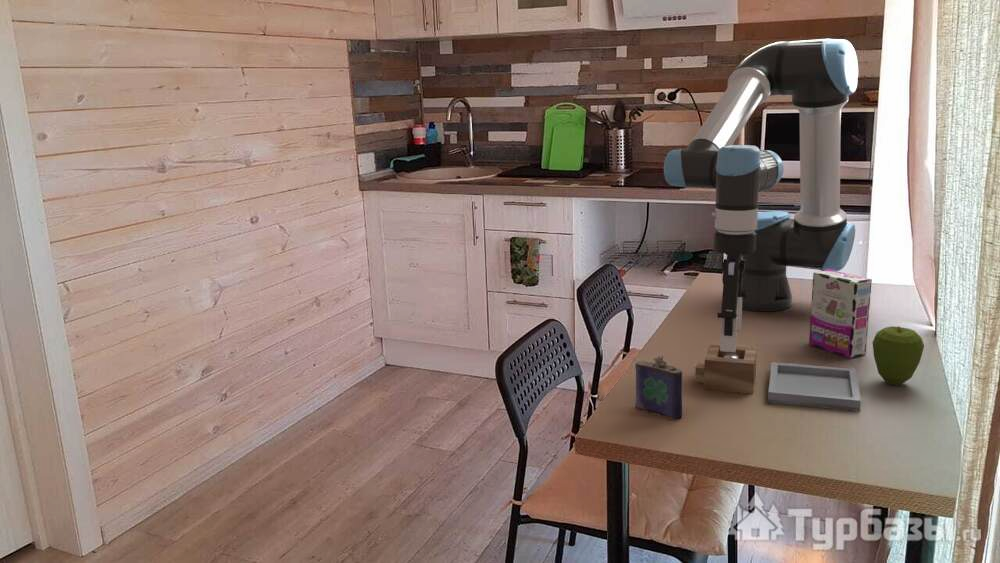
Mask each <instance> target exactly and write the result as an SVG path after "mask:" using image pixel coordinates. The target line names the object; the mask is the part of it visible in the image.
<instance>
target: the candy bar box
mask: <svg viewBox="0 0 1000 563" xmlns="http://www.w3.org/2000/svg"><path fill="white" fill-rule="evenodd" d="M812 274H813V275H812V293H811V304H810V306H811V309H810V320H809V321H810V323H809V337H808V338H809V339H808V344H809V345H811V346H812V347H813V346H814V347H816V348H819V349H822V350H825V351H828V352H831V353H834V354H837V355H840V356H842V357H845V358H848V359H854V358H858V357H862V356H865V355H866V353H867V345H868V344H867V343H868V331H869V330H868V329H869V317H870V316H869V315H870V305H871V293H872V281H873V280H872V278H867V277H863V276H858V275H855V274H850V273H845V272H842V271H841V272H840V271H833V270H829V269H828V270H817V271H813V273H812Z"/></svg>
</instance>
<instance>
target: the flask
mask: <svg viewBox="0 0 1000 563" xmlns="http://www.w3.org/2000/svg"><path fill="white" fill-rule="evenodd" d="M663 358H665V356H664V355H658V356H657V357H653V360H654V361H655V362H652V361H647V360H638V361H636V362H635V408H636V409H637V410H639V411H641V412H646V413H648V414H651V415H656V416H659V417H663V418H666V419H670V420H672V421H680V420H681V419H683V371H682V370H681V369H680V368H676V366H674V365H668V363H667V362H666V360H665V361H664V360H663Z"/></svg>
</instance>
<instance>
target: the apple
mask: <svg viewBox="0 0 1000 563" xmlns="http://www.w3.org/2000/svg"><path fill="white" fill-rule="evenodd" d="M924 348H925V344H924V342H923V339H922V337H921V335H919V334H918V333H917V332H916V331H915V330H914V329H911V328H907V327H902V326H900V325H898V326H887V327H884V328H882V329H880V330H879V331H877V332H876V334H875V336H874V338H873V341H872V349H873V350H872V351H873V352H872V353H873V358H874V361H875V366H876V370H877V373H878V374H879V376H880V377H881V378H882V380H883V381H884V382H885V383H886V384H889V385H898V386H901V385H903V384H904V383H905V382H906V383H907V381H909V380H910V379H912V377H913V375H914V374H915V372H916V370H917V369H918V366H919V364H920V363H921V358H922V356H923V352H924Z"/></svg>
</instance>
